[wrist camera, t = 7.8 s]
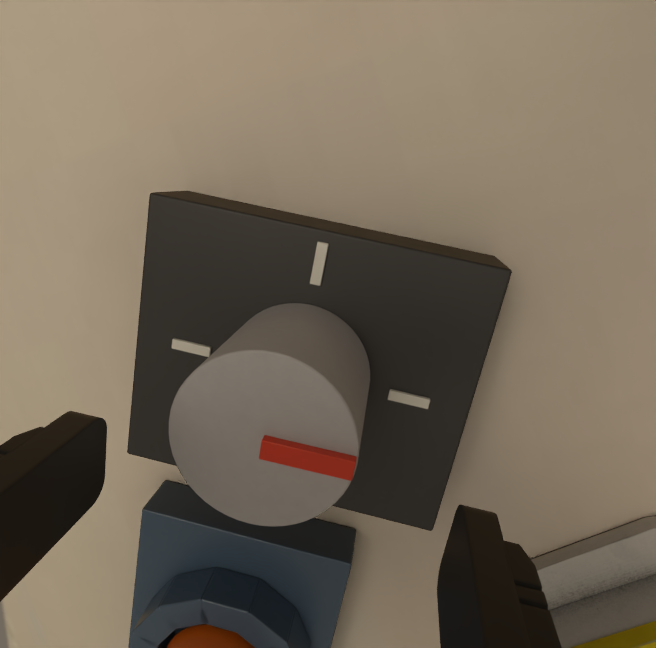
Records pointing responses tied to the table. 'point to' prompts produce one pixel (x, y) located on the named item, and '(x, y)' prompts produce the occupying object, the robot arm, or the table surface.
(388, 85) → the table surface
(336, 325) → the knob
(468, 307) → the dial panel
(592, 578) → the emergency button
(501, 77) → the table surface
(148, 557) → the switch block
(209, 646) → the power button
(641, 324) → the table surface
